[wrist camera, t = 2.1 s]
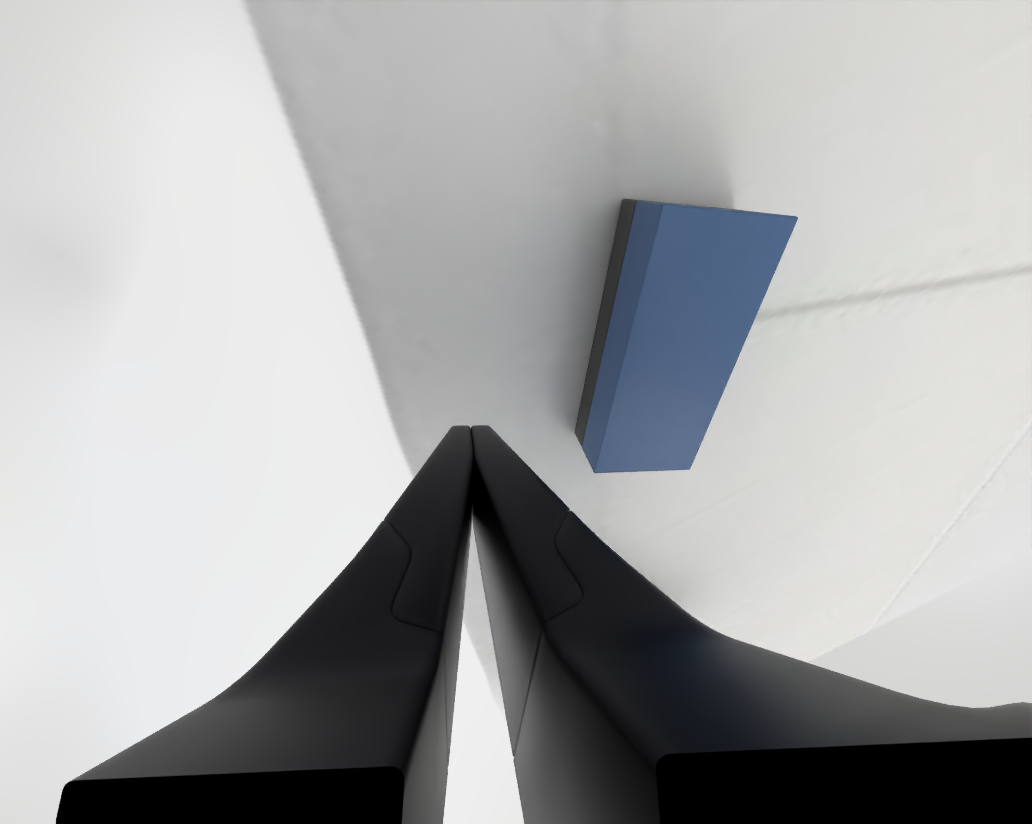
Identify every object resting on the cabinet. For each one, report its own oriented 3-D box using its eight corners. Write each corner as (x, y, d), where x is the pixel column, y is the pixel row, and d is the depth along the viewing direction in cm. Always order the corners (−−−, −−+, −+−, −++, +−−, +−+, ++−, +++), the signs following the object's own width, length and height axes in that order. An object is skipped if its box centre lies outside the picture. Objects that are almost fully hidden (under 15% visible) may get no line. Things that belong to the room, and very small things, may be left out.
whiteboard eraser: (658, 431, 19) (690, 470, 16) (574, 432, 18) (594, 473, 16) (735, 209, 14) (799, 217, 11) (621, 198, 13) (663, 203, 10)
